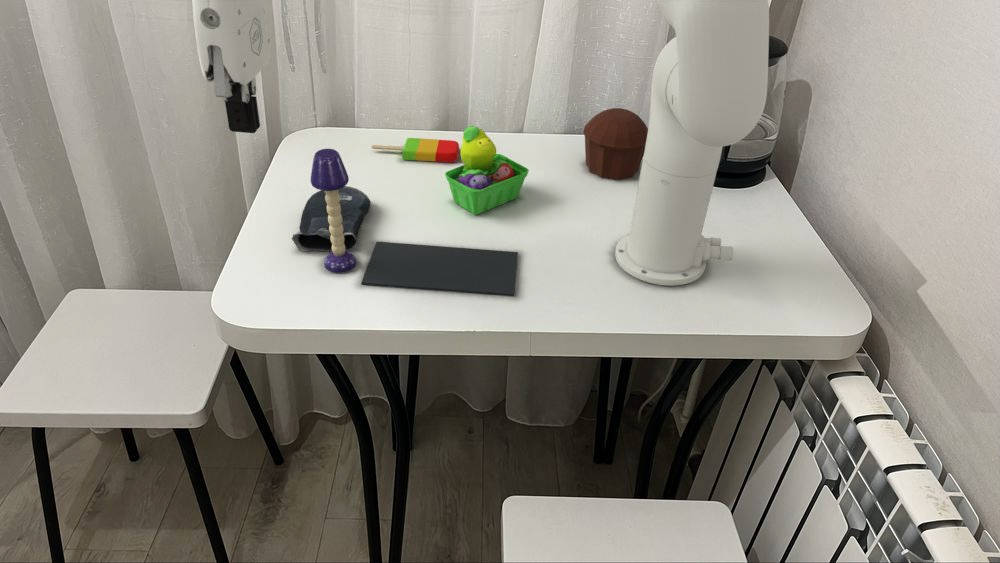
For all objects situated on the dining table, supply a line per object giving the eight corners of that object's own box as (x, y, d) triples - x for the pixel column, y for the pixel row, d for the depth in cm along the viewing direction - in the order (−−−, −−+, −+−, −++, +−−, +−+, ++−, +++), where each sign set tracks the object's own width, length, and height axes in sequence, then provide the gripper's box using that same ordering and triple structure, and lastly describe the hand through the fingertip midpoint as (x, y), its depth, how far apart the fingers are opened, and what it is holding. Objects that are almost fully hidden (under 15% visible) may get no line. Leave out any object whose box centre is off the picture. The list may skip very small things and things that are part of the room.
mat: (517, 254, 105) (517, 251, 104) (514, 296, 97) (514, 294, 96) (376, 243, 105) (376, 241, 105) (361, 284, 97) (361, 282, 97)
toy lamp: (348, 278, 98) (338, 163, 88) (314, 272, 99) (301, 158, 89) (360, 258, 102) (352, 146, 92) (328, 253, 103) (317, 141, 93)
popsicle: (457, 163, 126) (457, 153, 125) (368, 158, 126) (368, 148, 125) (459, 149, 131) (459, 140, 130) (374, 144, 131) (373, 134, 130)
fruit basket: (474, 222, 111) (476, 153, 105) (437, 198, 116) (437, 131, 110) (529, 199, 118) (534, 133, 111) (491, 178, 123) (495, 113, 116)
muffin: (583, 149, 134) (590, 96, 128) (645, 157, 132) (655, 104, 126) (575, 179, 124) (582, 123, 118) (642, 188, 123) (652, 132, 117)
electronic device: (365, 260, 104) (374, 195, 115) (356, 230, 100) (367, 165, 111) (299, 265, 104) (315, 200, 115) (288, 235, 100) (305, 170, 111)
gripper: (231, -11, 73) (255, 159, 83) (277, -45, 85) (293, 108, 96) (155, -17, 73) (189, 154, 83) (212, -50, 85) (235, 103, 96)
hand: (245, 129), depth 89 cm, fingers closed
